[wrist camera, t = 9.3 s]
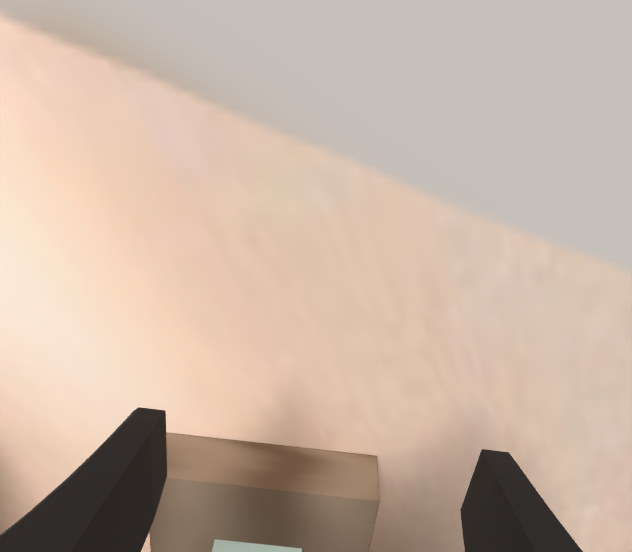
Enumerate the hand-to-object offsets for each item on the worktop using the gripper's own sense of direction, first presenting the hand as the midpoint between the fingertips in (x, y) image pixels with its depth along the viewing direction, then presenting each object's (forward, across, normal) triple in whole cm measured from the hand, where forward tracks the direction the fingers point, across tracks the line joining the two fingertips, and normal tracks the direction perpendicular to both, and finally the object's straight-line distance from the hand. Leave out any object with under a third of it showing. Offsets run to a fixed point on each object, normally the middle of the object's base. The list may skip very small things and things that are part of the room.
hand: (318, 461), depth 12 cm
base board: (+9, +2, +15) cm, 18 cm away
